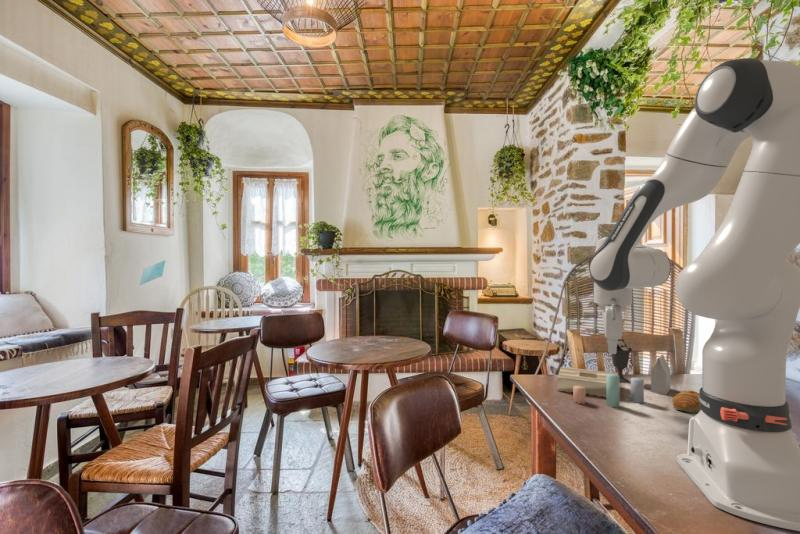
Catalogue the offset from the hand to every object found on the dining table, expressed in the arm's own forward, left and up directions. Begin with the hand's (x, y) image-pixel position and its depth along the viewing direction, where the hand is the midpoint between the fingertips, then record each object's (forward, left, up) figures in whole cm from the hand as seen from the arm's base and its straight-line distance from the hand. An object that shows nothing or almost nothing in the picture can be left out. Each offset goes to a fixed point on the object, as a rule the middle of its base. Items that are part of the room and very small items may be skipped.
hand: (611, 349), depth 102 cm
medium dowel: (+6, -6, -15) cm, 17 cm away
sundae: (+25, -3, -15) cm, 29 cm away
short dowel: (-1, +8, -15) cm, 17 cm away
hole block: (+12, +6, -15) cm, 20 cm away
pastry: (+7, -18, -15) cm, 24 cm away
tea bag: (+19, -13, -15) cm, 27 cm away
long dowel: (0, 0, -15) cm, 15 cm away
